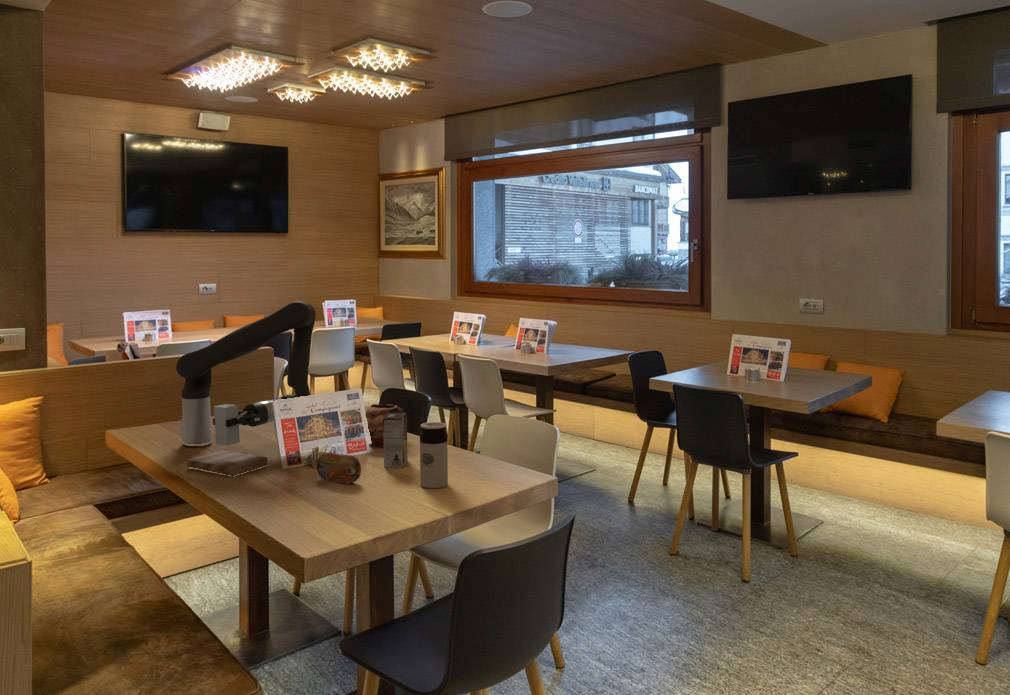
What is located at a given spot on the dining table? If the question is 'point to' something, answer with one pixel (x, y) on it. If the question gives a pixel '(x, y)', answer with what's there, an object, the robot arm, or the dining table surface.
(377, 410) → the decorative planter
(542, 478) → the dining table surface
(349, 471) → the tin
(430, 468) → the travel mug
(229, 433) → the slate block
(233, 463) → the walnut plinth
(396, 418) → the coffee box
